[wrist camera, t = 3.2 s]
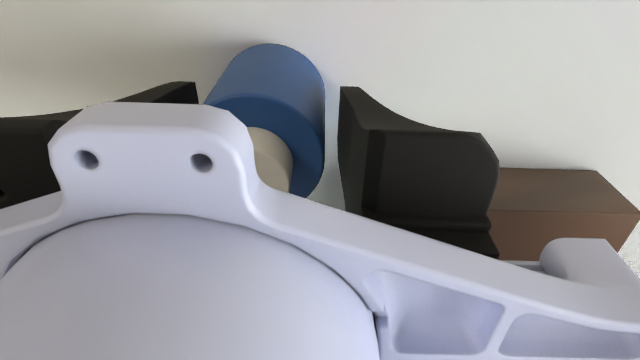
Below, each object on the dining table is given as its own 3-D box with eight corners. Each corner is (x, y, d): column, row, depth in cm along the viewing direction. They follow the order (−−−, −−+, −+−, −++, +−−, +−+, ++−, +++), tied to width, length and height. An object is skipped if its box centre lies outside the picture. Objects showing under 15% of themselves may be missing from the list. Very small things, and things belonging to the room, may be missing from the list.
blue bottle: (326, 44, 14) (327, 116, 9) (323, 142, 16) (322, 242, 11) (215, 41, 14) (153, 111, 9) (228, 139, 16) (184, 239, 11)
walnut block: (596, 170, 16) (644, 214, 14) (533, 289, 21) (560, 338, 19) (414, 164, 16) (429, 208, 14) (390, 285, 21) (398, 334, 19)
